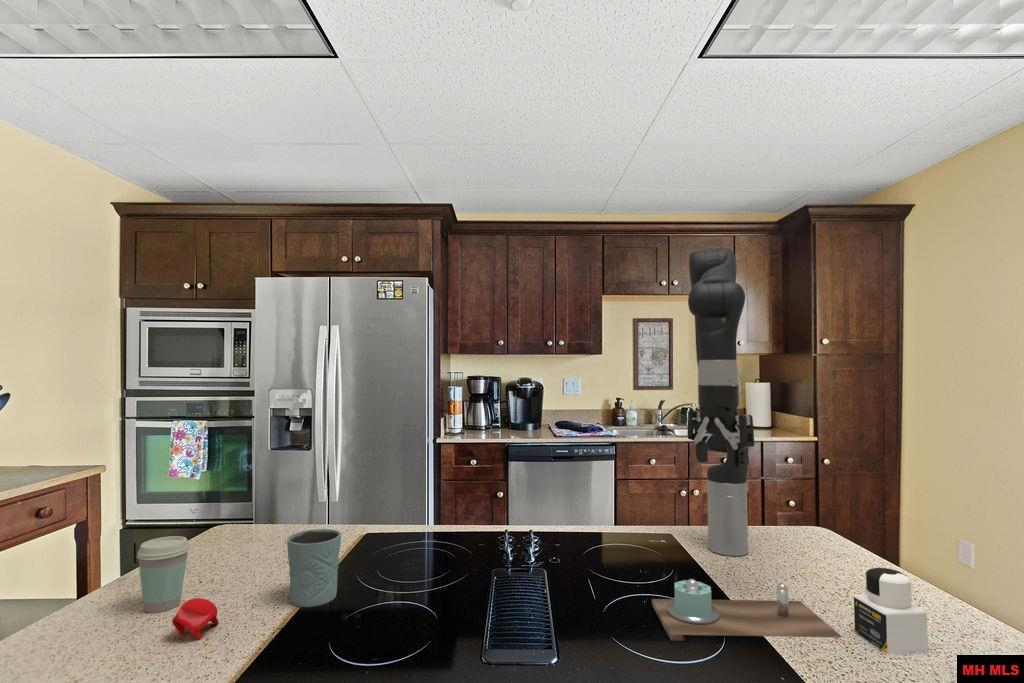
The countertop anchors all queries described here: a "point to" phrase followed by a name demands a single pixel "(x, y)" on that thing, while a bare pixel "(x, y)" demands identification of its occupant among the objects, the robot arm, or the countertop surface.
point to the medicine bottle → (890, 613)
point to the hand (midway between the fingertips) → (719, 465)
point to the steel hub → (692, 586)
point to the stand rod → (782, 600)
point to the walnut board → (748, 620)
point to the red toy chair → (195, 616)
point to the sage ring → (693, 600)
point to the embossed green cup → (313, 566)
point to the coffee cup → (162, 572)
